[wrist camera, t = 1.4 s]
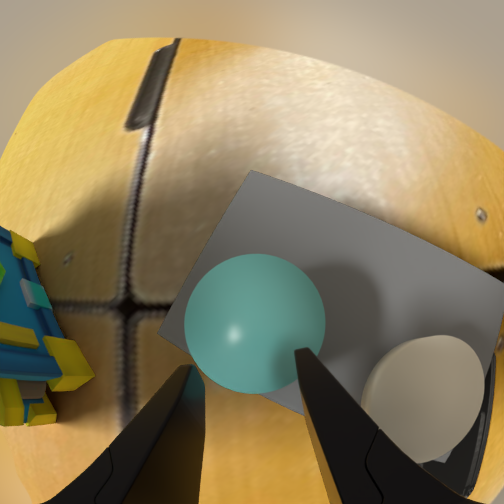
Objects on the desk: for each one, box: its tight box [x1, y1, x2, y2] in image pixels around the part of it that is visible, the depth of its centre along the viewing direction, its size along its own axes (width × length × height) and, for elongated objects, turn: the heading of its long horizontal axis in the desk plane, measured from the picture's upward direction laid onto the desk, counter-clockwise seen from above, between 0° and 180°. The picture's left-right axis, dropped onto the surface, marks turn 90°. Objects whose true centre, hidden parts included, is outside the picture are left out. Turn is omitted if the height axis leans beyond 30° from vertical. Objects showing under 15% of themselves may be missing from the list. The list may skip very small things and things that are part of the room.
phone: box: [417, 353, 496, 498], centre depth 15 cm, size 8×1×15 cm
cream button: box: [361, 335, 484, 463], centre depth 10 cm, size 5×5×5 cm
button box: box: [157, 170, 504, 463], centre depth 17 cm, size 11×18×8 cm, turn 62°
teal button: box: [184, 254, 325, 394], centre depth 13 cm, size 5×5×5 cm
